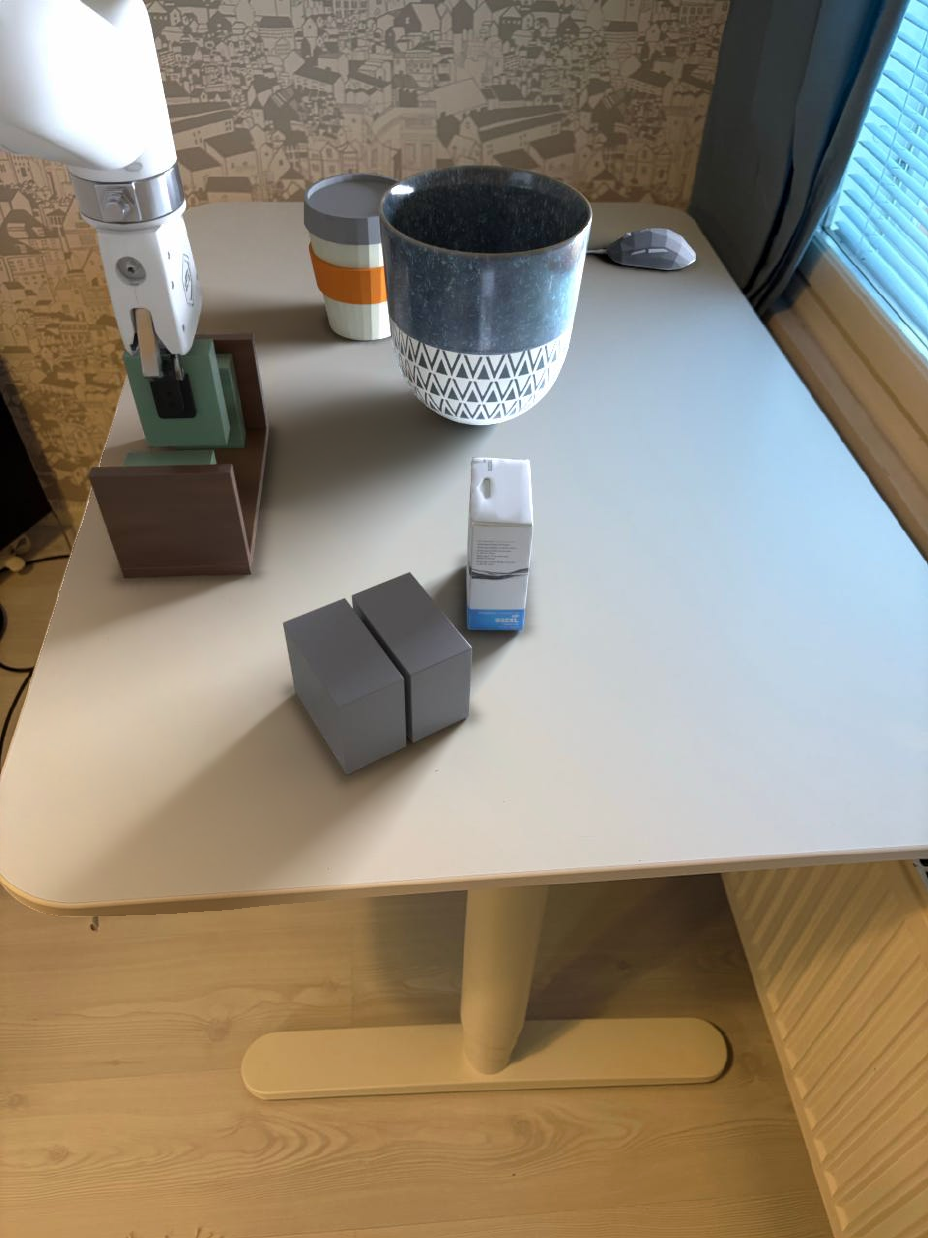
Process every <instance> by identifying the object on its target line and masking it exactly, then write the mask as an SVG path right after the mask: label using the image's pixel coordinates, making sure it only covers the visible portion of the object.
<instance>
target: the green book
mask: <svg viewBox="0 0 928 1238" xmlns="http://www.w3.org/2000/svg"><path fill="white" fill-rule="evenodd" d="M158 341H161V340H158ZM180 356H181V360H182V365H183V370H184V374H189V379H190V383H191V387H192V392H193V396H194V401H195V405H196V409H197V414H196V417H195V418H177V419H162V418H160V417H159V416H158V413H157V409H156V406H155V402H154V398H153V394H152V390H151V387H150V383H149V381H148V379H145V378H144V376H143V371H142V364H141V356H140V349H139V351H138V353H137V355H136V356H133V355H131V354H130V353H129V352H128V351H127V350H126V349H125V348H124V351H123V354H122V357H121V358H122V360H123V365H124V367H125V368H124V369H125V372H126V375H127V379H128V382H129V386H130V389H131V394H132V396H133V400H134V404H135V406H136V410H137V415H138V417H139V421H140V425H141V429H142V432H143V434H144V439H145V443H146V446H147V447H149V448H150V447H151V448H153V447H159V446H200V445H227V443H228V437H229V431H230V425H229V420H228V415H227V410H226V405H225V400H224V395H223V390H222V385H221V379H220V374H219V369H218V364H217V359H216V354H215V349H214V344H213V340H212V339H194V341H193V344H192V347H191V349H190V350H189V351H188V353H186V354H185V355H180ZM160 357H161V360H169V361H170V362H171V363H172V361H171V356H170V354H160Z"/></svg>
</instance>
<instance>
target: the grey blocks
mask: <svg viewBox="0 0 928 1238" xmlns="http://www.w3.org/2000/svg"><path fill="white" fill-rule="evenodd" d="M351 604H352V605H351ZM351 604H350V603H349V601H348V600H347V599H346V598H345V597H344V598H341V599H339V600H336V601H333V602H331V603H329V604H326V605H324V606H321V607H318V608H316V609H314V610H311V611H308V612H306V613H303V614H300V615H299V616H296V617H293V618H290V619H288V620H287V621H283V622H282V626H283V632H284V637H285V643H286V649H287V653H288V659H289V665H290V670H291V677H292V682H293V688H294V693H295V694H296V696H297V697H298V699H299V700H300V702H301V704H302V706H303V707H304V709H305V710H306V712H307V714H308V715H309V717H310V718H311V720H312V722H313V723H314V725H315V727H316V728H317V730H318V731H319V733H320V734H321V736H322V738H323V739H324V741H325V743H326V744H327V746H328V748H329V749H330V751H331V753H332V754H333V755H334V757H335V759H336V761H337V762H338V764H339V766H340V767H341V769H342V770H343V771H344V774H345V775H346V776H348V775H350V774H352V773H355V772H356V771H359V770H360V769H363V768H365V767H367V766H369V765H371V764H373V763H375V762H377V761H380V760H381V759H384V758H386V757H387V756H390V755H392V754H394V753H396V752H398V751H400V750H402V749H404V748H406V747H407V737H408V739H409V740H410V742H411V743H412V744H414V743H416V742H418V741H421V740H423V739H425V738H427V737H429V736H432V735H433V734H435V733H438V732H439V731H442V730H443V729H445V728H448V727H449V726H452V725H454V724H456V723H458V722H460V721H462V720H464V719H466V718H468V717H469V716H470V704H471V703H470V702H471V701H470V700H471V681H472V680H471V679H472V661H473V660H472V659H473V658H472V657H473V647H472V646H471V645H470V643H468V641H467V640H466V639H465V637H464V636H463V635H462V634H461V633H460V632H459V630H458V629H457V627H456V626H455V625H454V623H452V621H451V620H450V619H449V618H448V617H447V615H446V614H445V613H444V611H442V609H441V608H440V607H439V606H438V604H437V603H436V602H435V600H434V599H433V598H432V597H431V596H430V594H429V593H428V592H427V591H426V590H425V588H424V587H423V586H422V585H421V584H420V582H419V580H417V579H416V577H415V576H414V575H413V573H411V571H408V572H405V573H403V574H401V575H399V576H395V577H393V578H391V579H389V580H386V581H384V582H381V583H378V584H376V585H373V586H371V587H368V588H366V589H363V590H361V591H359V592H356V593H354V594H351Z"/></svg>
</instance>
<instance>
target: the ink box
mask: <svg viewBox="0 0 928 1238" xmlns="http://www.w3.org/2000/svg"><path fill="white" fill-rule="evenodd" d="M532 499H533V497H532V478H531V464H530V460H529V459H526V458H525V459H524V458H501V457H477V456H472V459H471V461H470V485H469V502H468V517H467V518H468V519H467V541H466V544H467V545H466V628H467V630H469V631H522V630H523V629H524V622H525V613H526V604H527V594H528V593H527V592H528V584H529V583H528V582H529V572H530V562H531V554H532V543H533V533H534V517H533V515H534V514H533V500H532Z"/></svg>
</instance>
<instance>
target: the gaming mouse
mask: <svg viewBox="0 0 928 1238" xmlns="http://www.w3.org/2000/svg"><path fill="white" fill-rule="evenodd" d="M586 254H597V255H607V256H608V257H609V258H610V259H611V260H612V261H613V263H614V262H615V263H617V264H620V265H623V266H633V267H639V268H649V269H656V270H665V271H666V270H667V271H670V270H679V269H683V268H686V267H687V266H689V265H692V264H693V263H694V262H695V261H696V259H697V257H696V256H697V255H696V254H697V253H696V252H695V250H694V249H693V248H692V247H691V246H690V244H688V242H687V241H686V240H685V238H684V237H683V236H682V235H681V234H679V233H677V232H675V231H672V230H670V229H668V228H657V227H650V228H646V229H640V230H635V231H631V232H626V233H624V234H623V236H621V237H619V238H618V239H616V240H614V241H613V242H610V243H609V244H608V245H607V246H606V249H603V248H599V249H596V250H595V249H594V250H592V249H591V250H589V249H587V251H586Z"/></svg>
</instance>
